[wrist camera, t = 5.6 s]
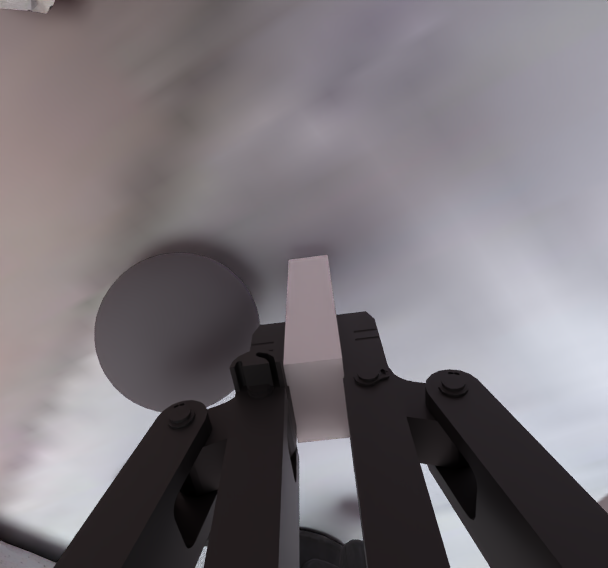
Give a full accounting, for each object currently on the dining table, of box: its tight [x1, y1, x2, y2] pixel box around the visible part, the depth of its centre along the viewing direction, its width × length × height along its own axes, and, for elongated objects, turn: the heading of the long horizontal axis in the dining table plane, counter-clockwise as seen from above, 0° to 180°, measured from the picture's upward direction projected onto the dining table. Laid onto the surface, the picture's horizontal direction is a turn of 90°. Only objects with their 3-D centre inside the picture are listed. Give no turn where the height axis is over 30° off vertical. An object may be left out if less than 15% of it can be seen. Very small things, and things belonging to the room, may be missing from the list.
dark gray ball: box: [95, 253, 260, 412], centre depth 17 cm, size 6×6×6 cm
